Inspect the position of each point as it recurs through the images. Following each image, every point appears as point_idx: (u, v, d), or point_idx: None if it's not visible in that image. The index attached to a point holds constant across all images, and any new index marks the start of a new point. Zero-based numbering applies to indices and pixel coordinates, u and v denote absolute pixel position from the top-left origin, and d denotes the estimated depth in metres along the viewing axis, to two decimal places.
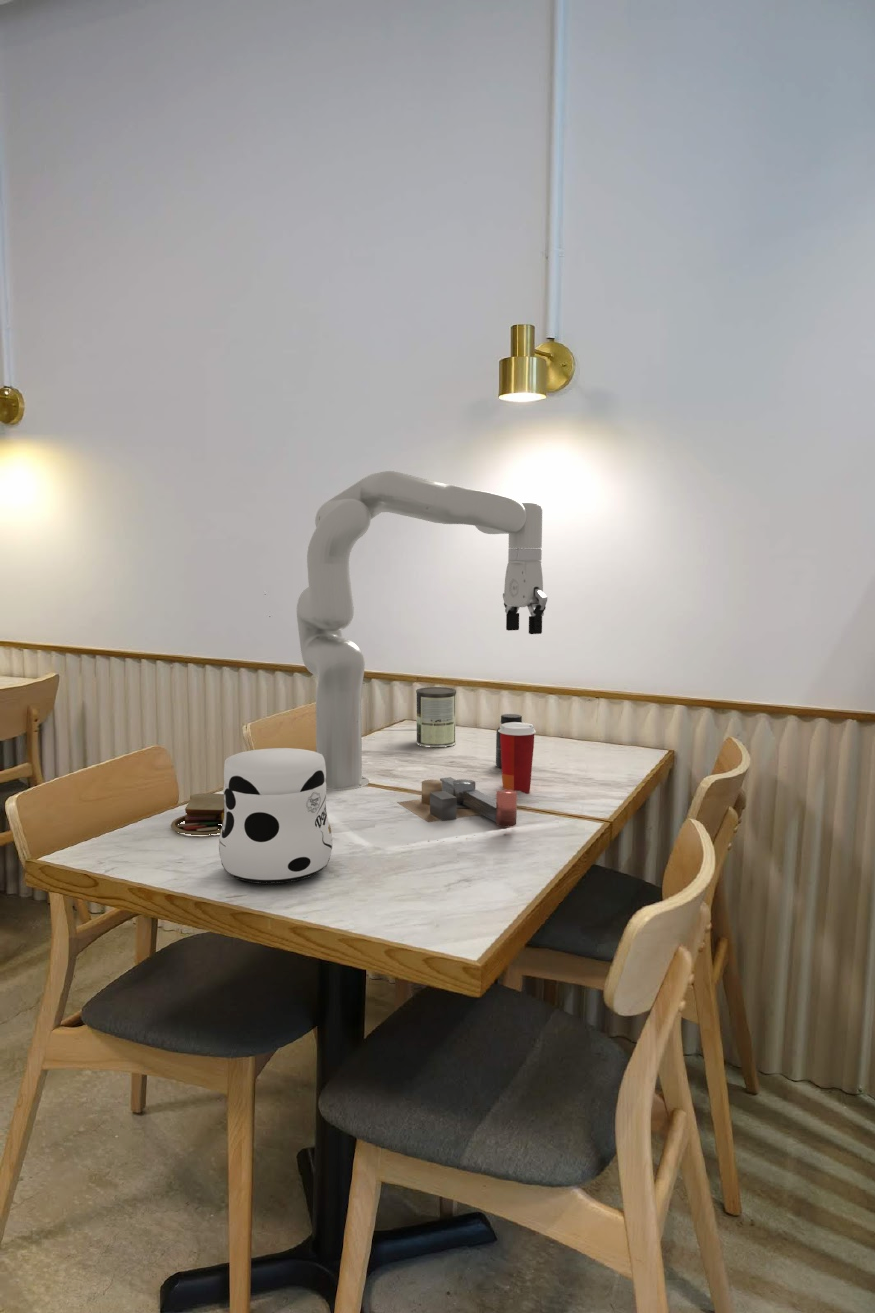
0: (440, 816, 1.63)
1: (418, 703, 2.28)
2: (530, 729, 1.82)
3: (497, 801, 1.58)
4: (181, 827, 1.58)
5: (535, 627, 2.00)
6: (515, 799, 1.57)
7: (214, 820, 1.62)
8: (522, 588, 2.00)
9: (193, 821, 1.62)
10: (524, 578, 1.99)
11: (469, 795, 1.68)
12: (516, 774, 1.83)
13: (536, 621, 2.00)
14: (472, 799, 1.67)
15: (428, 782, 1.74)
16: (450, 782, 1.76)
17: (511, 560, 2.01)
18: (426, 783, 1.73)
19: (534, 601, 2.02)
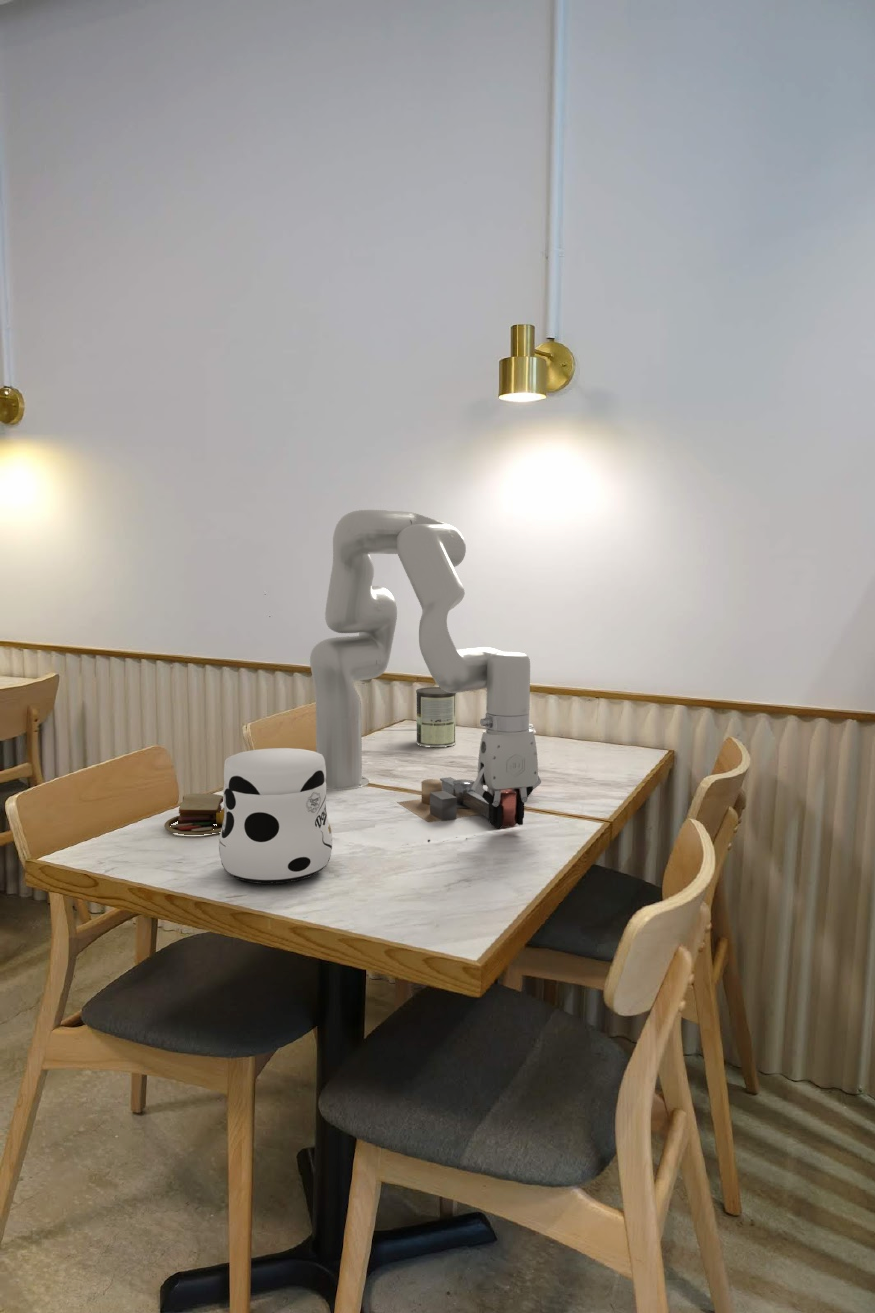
0: (440, 816, 1.63)
1: (418, 703, 2.28)
2: None
3: None
4: (175, 827, 1.58)
5: None
6: (515, 799, 1.57)
7: (208, 820, 1.62)
8: (532, 763, 1.57)
9: (187, 821, 1.61)
10: (534, 749, 1.57)
11: (469, 795, 1.68)
12: None
13: None
14: (472, 799, 1.67)
15: (428, 782, 1.74)
16: (450, 782, 1.76)
17: (520, 731, 1.54)
18: (426, 783, 1.73)
19: None
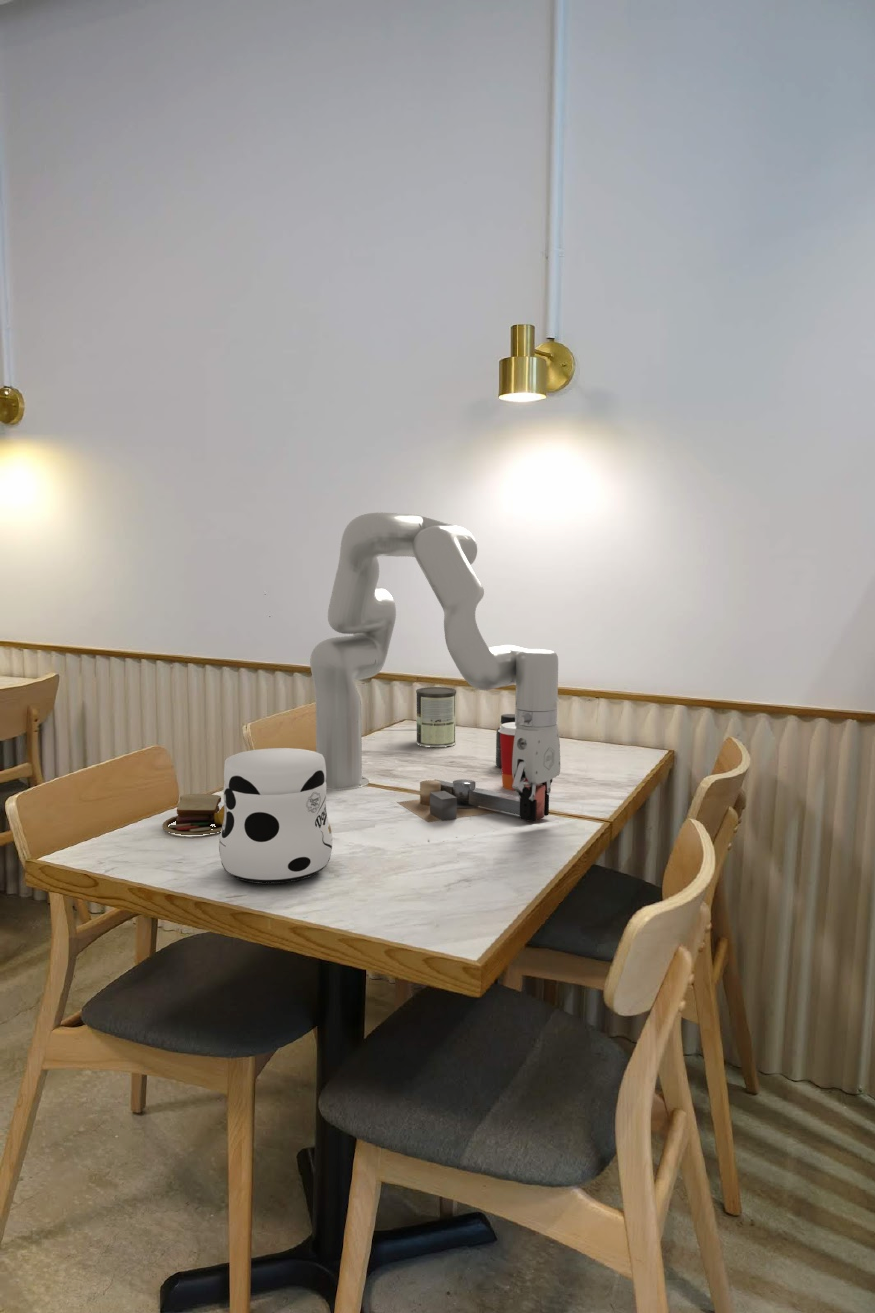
0: (440, 816, 1.63)
1: (418, 703, 2.28)
2: None
3: None
4: (173, 828, 1.58)
5: None
6: (544, 791, 1.62)
7: (206, 820, 1.62)
8: (557, 754, 1.63)
9: (184, 822, 1.61)
10: (558, 741, 1.63)
11: (479, 794, 1.69)
12: None
13: None
14: (485, 797, 1.68)
15: (427, 783, 1.73)
16: (443, 784, 1.75)
17: (555, 724, 1.59)
18: (426, 784, 1.72)
19: None
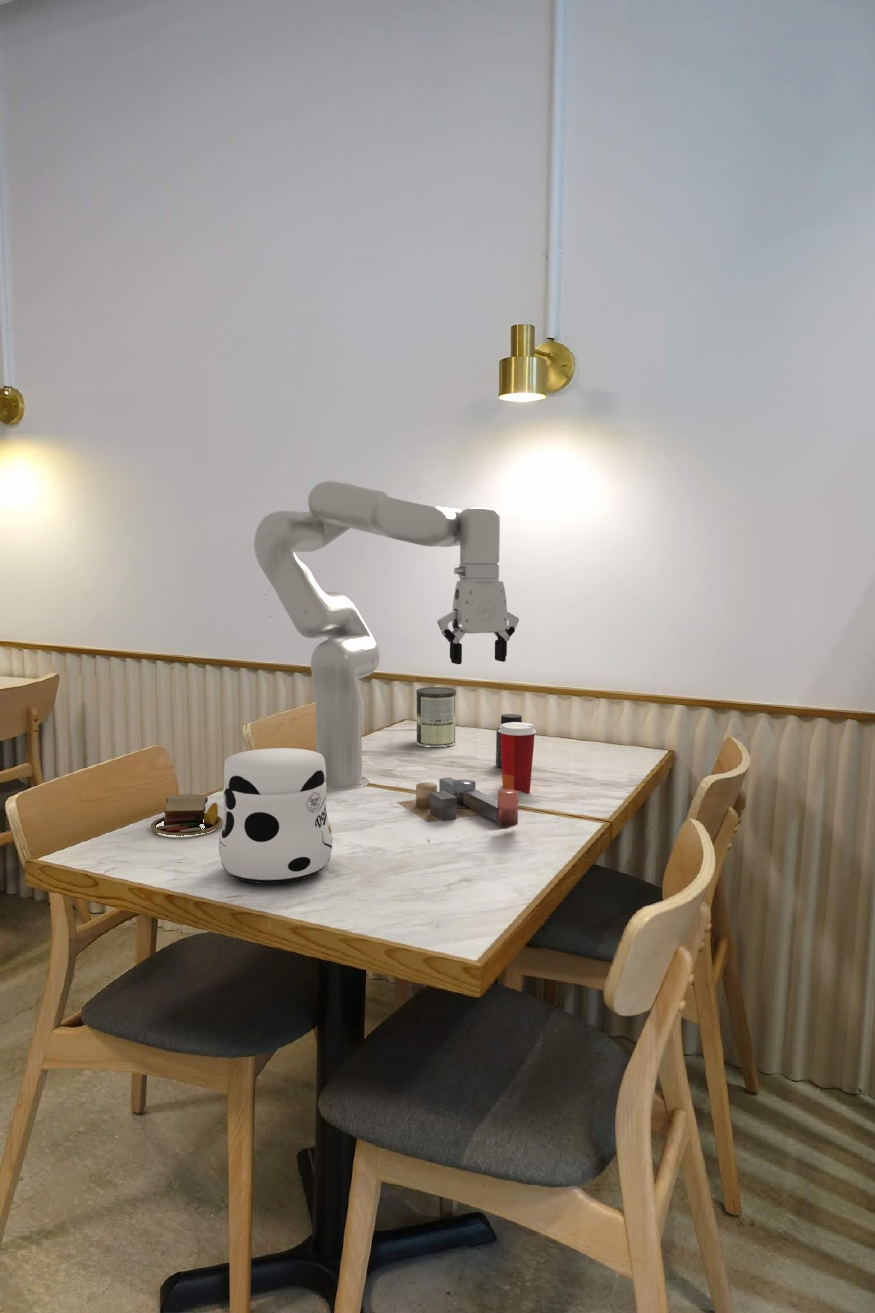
0: (440, 816, 1.63)
1: (418, 703, 2.28)
2: (530, 729, 1.82)
3: (498, 801, 1.58)
4: (163, 829, 1.57)
5: None
6: (517, 799, 1.57)
7: (194, 821, 1.62)
8: (501, 610, 1.71)
9: (173, 823, 1.61)
10: (503, 598, 1.71)
11: (469, 795, 1.68)
12: (516, 774, 1.83)
13: None
14: (473, 799, 1.67)
15: (423, 785, 1.71)
16: (450, 782, 1.76)
17: (490, 578, 1.68)
18: (422, 787, 1.70)
19: None
